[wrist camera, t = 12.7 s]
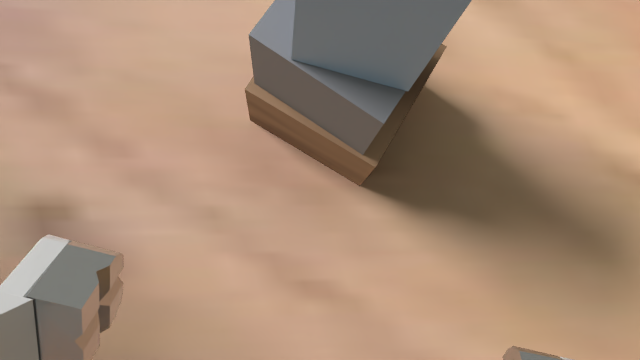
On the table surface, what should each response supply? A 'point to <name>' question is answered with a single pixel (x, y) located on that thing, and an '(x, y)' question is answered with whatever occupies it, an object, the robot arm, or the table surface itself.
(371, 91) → the tower middle
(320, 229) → the table surface
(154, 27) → the table surface
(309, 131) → the tower base
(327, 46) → the pillar
